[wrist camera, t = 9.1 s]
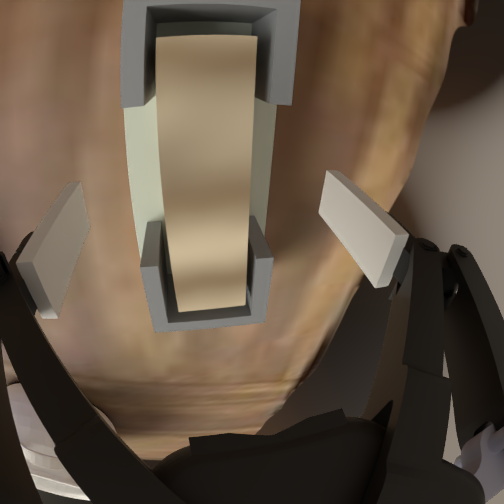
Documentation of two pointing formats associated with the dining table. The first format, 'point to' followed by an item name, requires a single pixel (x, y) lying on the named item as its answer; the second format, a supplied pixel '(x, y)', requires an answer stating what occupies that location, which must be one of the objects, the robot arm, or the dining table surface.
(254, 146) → the bracket board
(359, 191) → the robot arm
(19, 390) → the pot
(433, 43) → the dining table surface
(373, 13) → the dining table surface
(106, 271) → the dining table surface
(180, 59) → the tan long curved block
